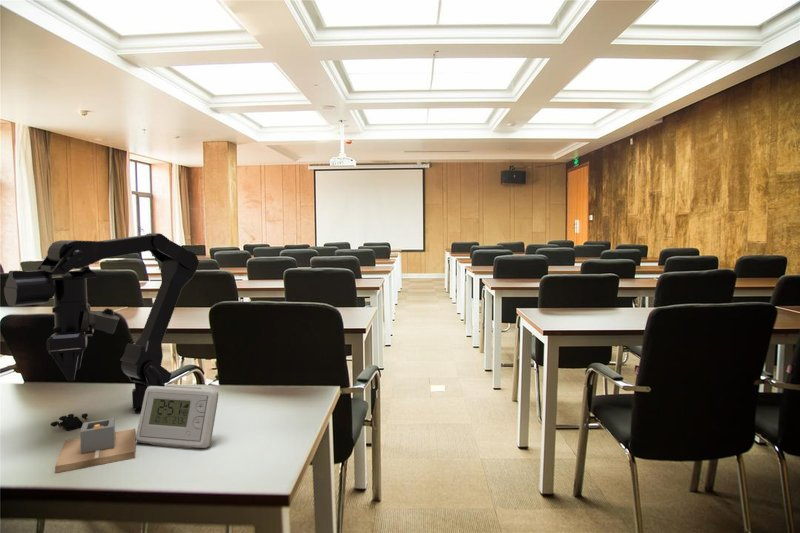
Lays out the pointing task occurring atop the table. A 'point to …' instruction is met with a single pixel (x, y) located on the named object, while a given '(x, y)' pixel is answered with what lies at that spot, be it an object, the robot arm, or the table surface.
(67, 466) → the wooden base plate
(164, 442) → the digital clock
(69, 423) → the wireless earbuds
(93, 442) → the square gray frame
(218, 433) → the table surface
